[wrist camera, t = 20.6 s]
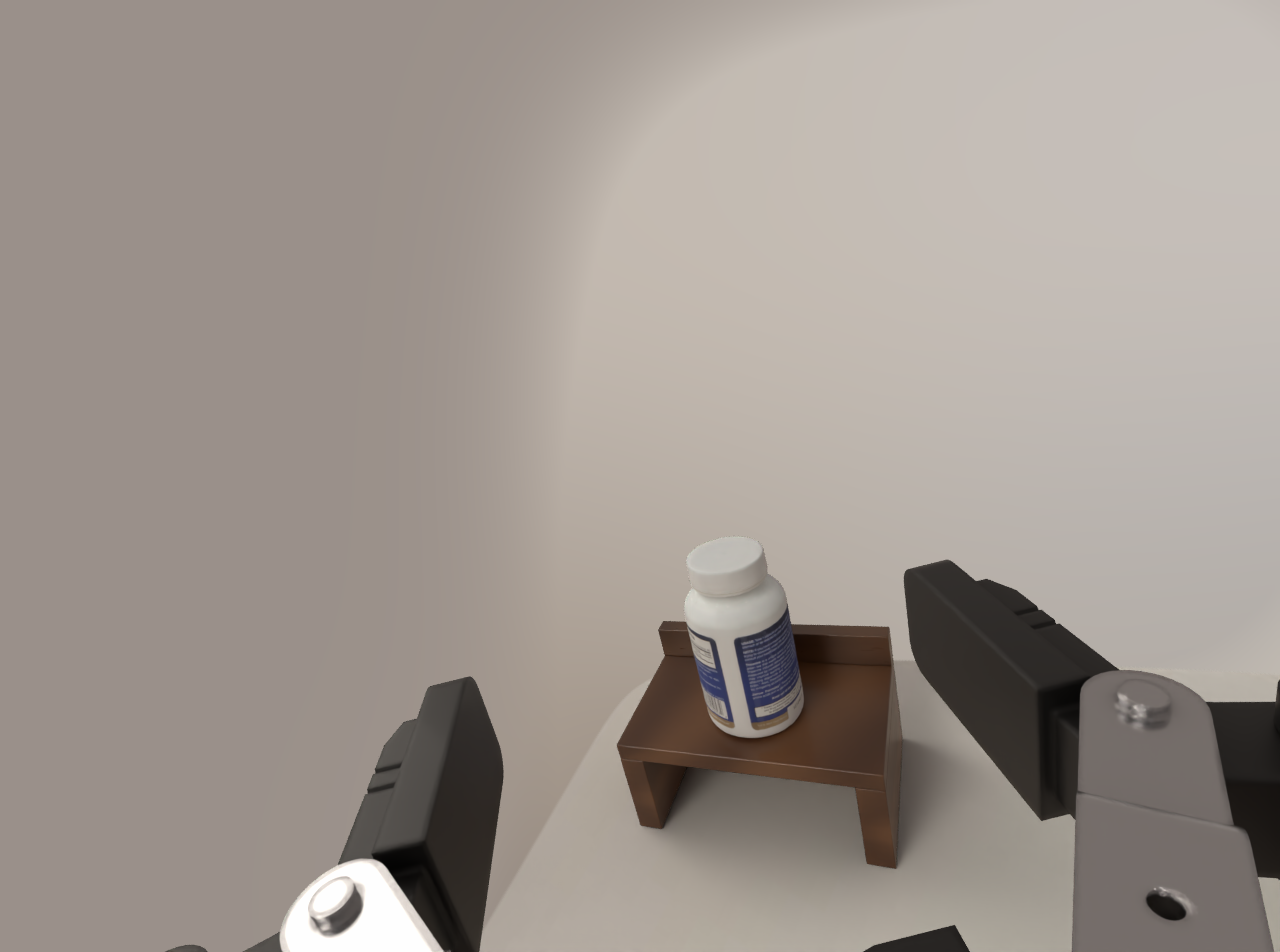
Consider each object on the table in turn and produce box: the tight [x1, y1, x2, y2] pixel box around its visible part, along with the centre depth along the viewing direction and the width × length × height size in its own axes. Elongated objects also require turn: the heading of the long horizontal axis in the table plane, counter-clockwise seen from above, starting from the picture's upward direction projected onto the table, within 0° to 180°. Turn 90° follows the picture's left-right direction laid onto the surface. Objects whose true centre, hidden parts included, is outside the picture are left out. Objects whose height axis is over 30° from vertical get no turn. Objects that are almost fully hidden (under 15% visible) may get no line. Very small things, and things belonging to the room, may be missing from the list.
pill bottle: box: [684, 536, 804, 738], centre depth 36 cm, size 5×5×10 cm
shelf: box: [617, 621, 903, 869], centre depth 38 cm, size 14×9×8 cm, turn 68°
